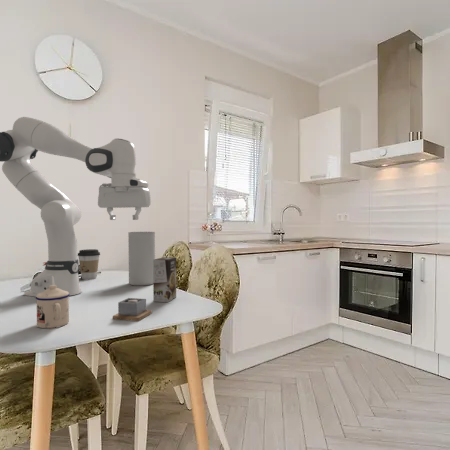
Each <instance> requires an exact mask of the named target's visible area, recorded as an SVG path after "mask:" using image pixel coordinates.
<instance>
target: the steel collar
mask: <svg viewBox="0 0 450 450" xmlns="http://www.w3.org/2000/svg"><path fill="white" fill-rule="evenodd" d="M128 300H138V302H136V303H129V302H128ZM117 305H118V306H117V307H118V312H117V314H118V315H124V316H138V315H140V314H142V313H144V312H145V311H146V310H147V299H146V298H135V297H134V298H133V297H128V298H125V299H123V300H121V301H119V302H118V303H117Z"/></svg>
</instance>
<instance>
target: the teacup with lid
mask: <svg viewBox="0 0 450 450" xmlns="http://www.w3.org/2000/svg"><path fill="white" fill-rule="evenodd" d="M69 295H70V294H69V292H67V291H63V290H61V289H59V288H57V286H56V285H50V286H49V289H47V290H45V291H44V292H42V293H39V294H37V296H36V297H35V299H36V326H37V327H38V328H41V329H54V328H55V327H56V328H60V327H64V326H65V325H67V324H68V323H69V322H70V312H69V311H70V301H69V300H70V298H69V297H70V296H71V295H70V296H69Z"/></svg>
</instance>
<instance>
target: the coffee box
mask: <svg viewBox="0 0 450 450" xmlns="http://www.w3.org/2000/svg"><path fill="white" fill-rule="evenodd" d="M152 285H153V286H152V287H153V290H152V291H153V295H152V296H153V300H152V301H153V302H160V303H169V302H171V301H172V300H174V299H175V298H176V297H177V257H174V256H173V257H172V256H171V257H170V256H169V257H167V256H166V257H165V256H164V257H159V258H155V259H154V260H153V284H152ZM173 298H174V299H173ZM170 300H171V301H170Z"/></svg>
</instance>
